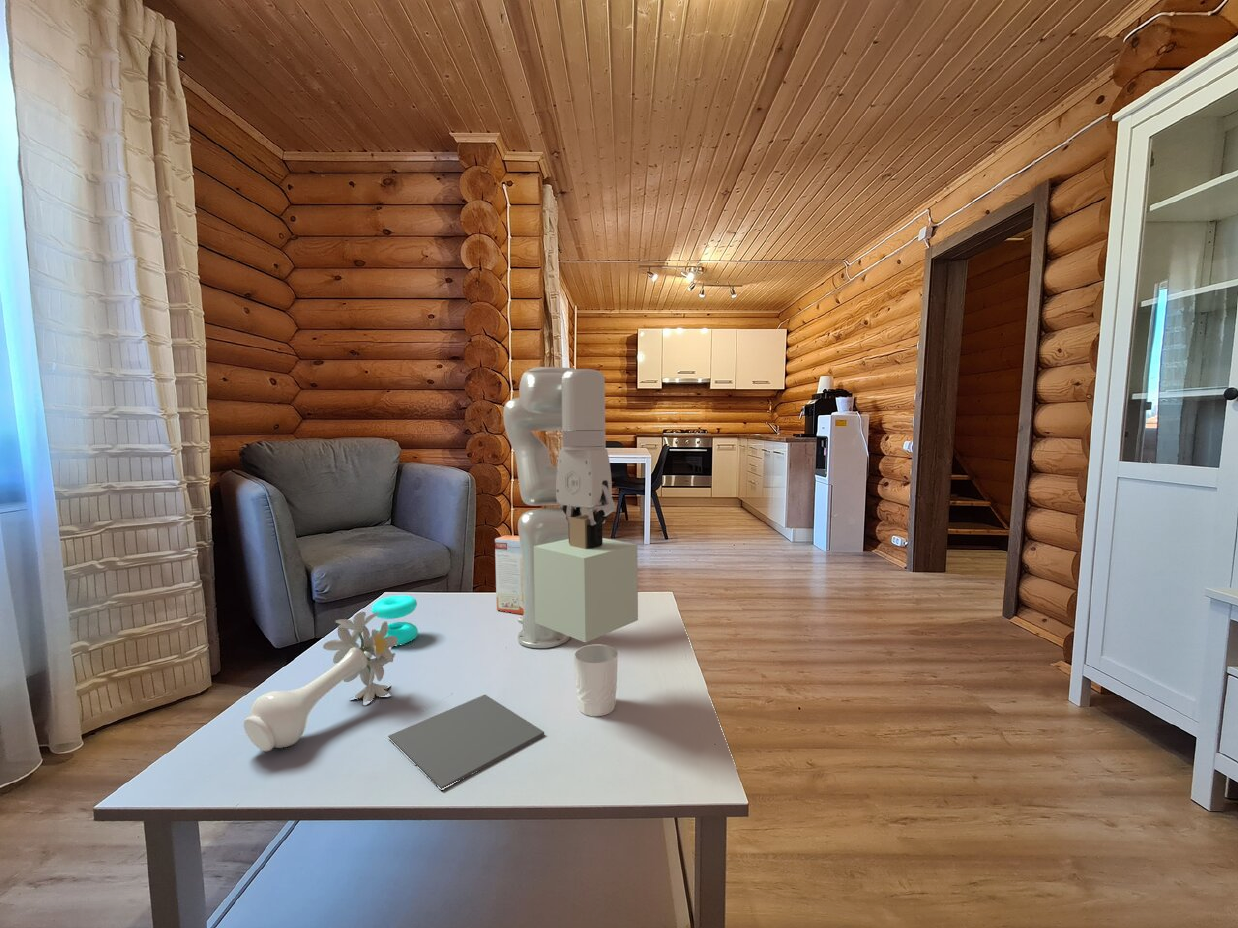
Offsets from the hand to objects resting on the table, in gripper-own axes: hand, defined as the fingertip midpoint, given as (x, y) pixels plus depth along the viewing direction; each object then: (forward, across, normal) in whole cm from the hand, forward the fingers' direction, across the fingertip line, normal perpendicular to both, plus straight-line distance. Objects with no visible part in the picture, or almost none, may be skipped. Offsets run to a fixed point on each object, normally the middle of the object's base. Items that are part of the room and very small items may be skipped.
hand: (585, 543), depth 91 cm
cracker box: (+31, -51, +23) cm, 64 cm away
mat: (+30, -8, -20) cm, 37 cm away
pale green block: (+14, 0, 0) cm, 14 cm away
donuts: (+31, -57, -10) cm, 66 cm away
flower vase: (+30, -32, -32) cm, 54 cm away
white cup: (+30, +1, +1) cm, 30 cm away
